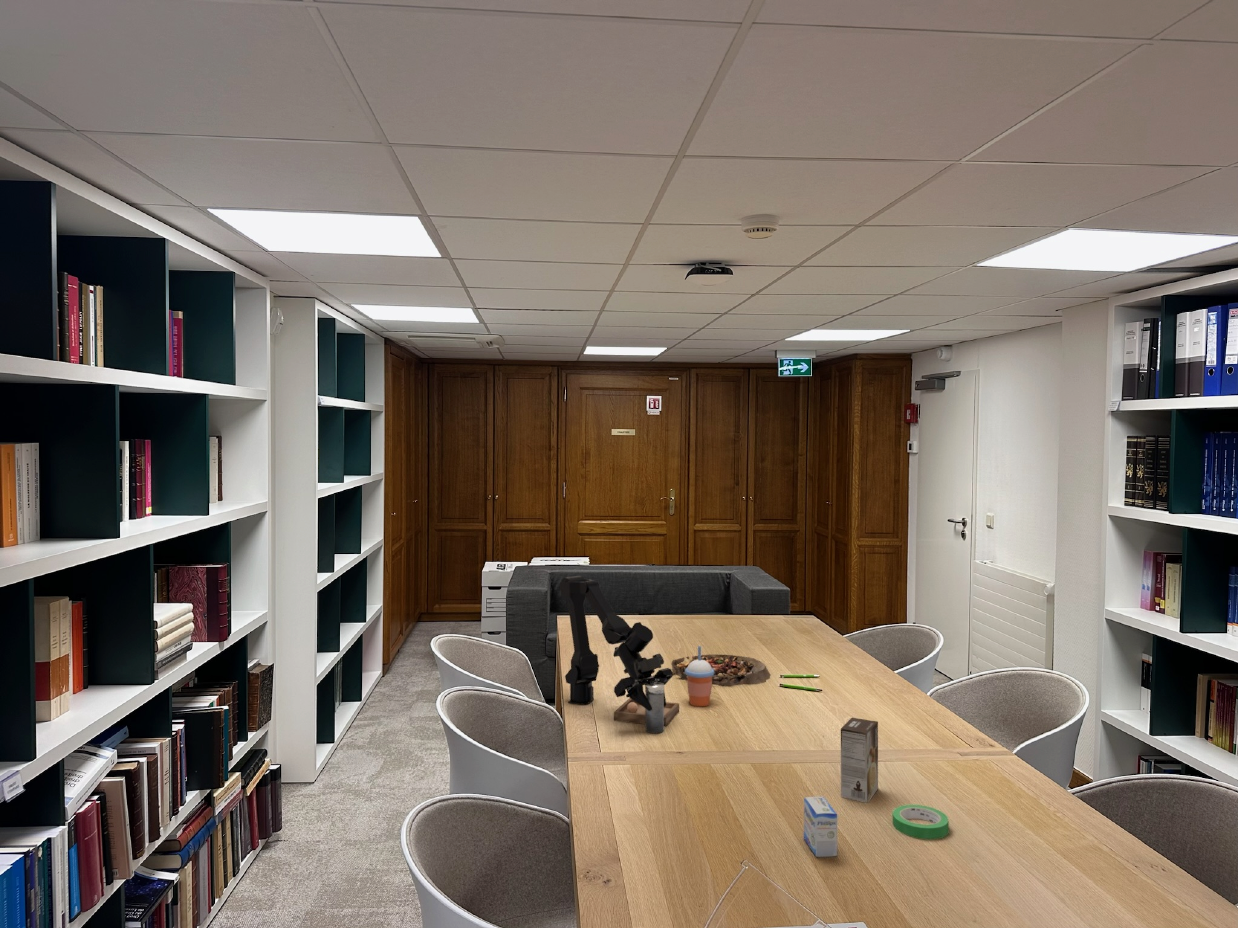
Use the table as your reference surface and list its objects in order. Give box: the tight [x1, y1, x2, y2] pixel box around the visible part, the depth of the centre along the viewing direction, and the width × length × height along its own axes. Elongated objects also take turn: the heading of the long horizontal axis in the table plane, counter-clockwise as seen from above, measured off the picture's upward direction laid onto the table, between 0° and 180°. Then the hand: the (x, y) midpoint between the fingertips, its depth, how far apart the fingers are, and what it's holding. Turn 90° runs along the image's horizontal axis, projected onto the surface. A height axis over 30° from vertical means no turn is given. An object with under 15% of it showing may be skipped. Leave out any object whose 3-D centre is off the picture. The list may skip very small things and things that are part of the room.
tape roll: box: [892, 804, 950, 840], centre depth 171 cm, size 11×11×3 cm
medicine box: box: [803, 796, 838, 858], centre depth 162 cm, size 8×4×9 cm, turn 5°
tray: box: [613, 697, 680, 727], centre depth 242 cm, size 16×14×2 cm
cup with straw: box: [685, 645, 714, 707], centre depth 253 cm, size 9×9×18 cm
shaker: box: [644, 682, 665, 734], centre depth 229 cm, size 5×5×13 cm
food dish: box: [670, 653, 772, 687], centre depth 287 cm, size 35×33×8 cm
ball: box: [627, 702, 638, 713], centre depth 242 cm, size 3×3×3 cm
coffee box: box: [840, 717, 879, 804], centre depth 187 cm, size 9×6×16 cm
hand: (657, 707), depth 228 cm, fingers closed on shaker, 5 cm apart
